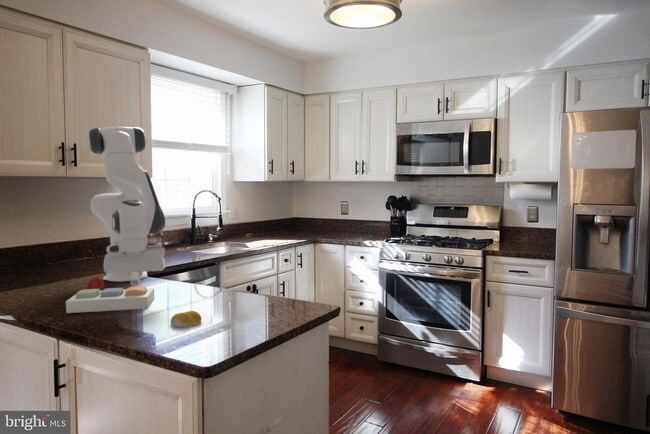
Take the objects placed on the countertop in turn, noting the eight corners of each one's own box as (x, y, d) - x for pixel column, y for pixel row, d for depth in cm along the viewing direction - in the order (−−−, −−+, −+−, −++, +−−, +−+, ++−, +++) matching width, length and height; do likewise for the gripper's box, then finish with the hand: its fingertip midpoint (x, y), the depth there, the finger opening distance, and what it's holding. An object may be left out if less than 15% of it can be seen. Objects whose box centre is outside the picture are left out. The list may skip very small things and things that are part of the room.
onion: (86, 297, 177) (85, 277, 177) (89, 294, 183) (88, 274, 182) (103, 296, 179) (102, 276, 178) (105, 293, 184) (105, 273, 184)
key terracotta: (129, 295, 170) (128, 287, 170) (146, 294, 171) (146, 286, 171) (125, 299, 164) (125, 291, 164) (143, 298, 165) (143, 290, 165)
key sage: (81, 297, 167) (81, 289, 166) (99, 296, 168) (99, 288, 168) (76, 302, 161) (75, 293, 161) (95, 301, 162) (94, 292, 162)
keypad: (79, 302, 170) (79, 291, 170) (154, 298, 175) (154, 288, 175) (66, 313, 157) (65, 301, 156) (147, 308, 162) (147, 297, 161)
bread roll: (206, 322, 146) (206, 310, 145) (182, 330, 138) (182, 317, 138) (189, 318, 150) (189, 306, 150) (165, 325, 143) (165, 312, 143)
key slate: (105, 296, 168) (105, 288, 168) (123, 295, 169) (123, 287, 169) (101, 300, 162) (100, 292, 162) (119, 299, 164) (119, 291, 163)
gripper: (165, 243, 171) (167, 280, 172) (106, 245, 167) (107, 283, 168) (163, 245, 165) (164, 284, 166) (101, 248, 161) (103, 287, 162)
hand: (135, 284), depth 167 cm, fingers closed
